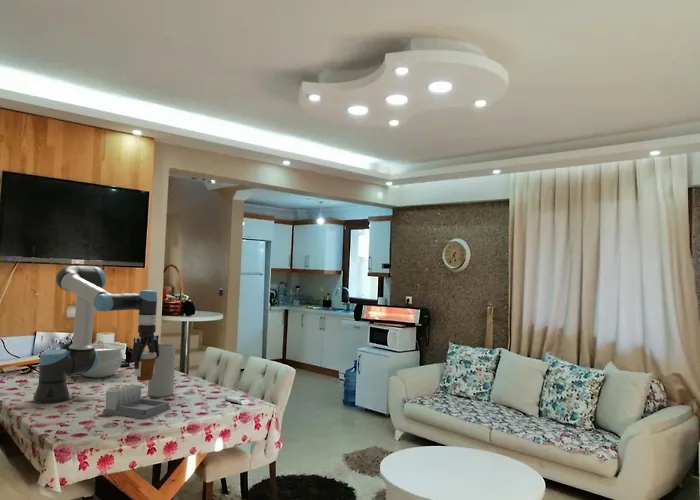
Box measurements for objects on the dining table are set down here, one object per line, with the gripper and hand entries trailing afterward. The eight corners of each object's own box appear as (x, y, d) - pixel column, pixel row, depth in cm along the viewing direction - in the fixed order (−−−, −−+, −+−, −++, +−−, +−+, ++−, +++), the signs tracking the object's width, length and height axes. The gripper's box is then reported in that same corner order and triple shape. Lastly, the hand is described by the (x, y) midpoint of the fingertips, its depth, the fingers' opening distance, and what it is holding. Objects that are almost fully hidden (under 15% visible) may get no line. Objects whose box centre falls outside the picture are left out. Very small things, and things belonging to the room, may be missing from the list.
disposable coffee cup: (148, 382, 240) (149, 355, 240) (128, 380, 241) (130, 353, 242) (159, 378, 249) (160, 351, 249) (141, 376, 251) (142, 350, 251)
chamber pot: (111, 381, 305) (113, 344, 306) (63, 379, 306) (65, 342, 306) (132, 371, 333) (133, 338, 334) (87, 370, 334) (89, 336, 334)
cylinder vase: (143, 394, 278) (145, 345, 279) (165, 390, 287) (167, 343, 288) (154, 398, 269) (157, 348, 270) (177, 395, 278) (180, 346, 279)
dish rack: (170, 409, 250) (171, 388, 251) (142, 418, 233) (143, 396, 234) (132, 403, 258) (133, 383, 258) (103, 412, 241) (104, 391, 242)
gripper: (136, 326, 235) (134, 379, 234) (169, 322, 255) (167, 371, 254) (123, 325, 237) (120, 377, 237) (156, 321, 257) (154, 369, 256)
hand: (144, 374), depth 245 cm, fingers closed on disposable coffee cup, 8 cm apart
